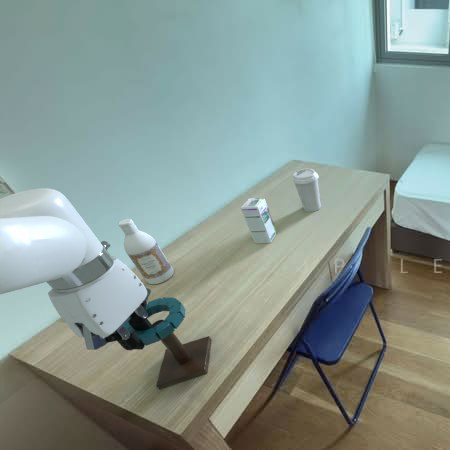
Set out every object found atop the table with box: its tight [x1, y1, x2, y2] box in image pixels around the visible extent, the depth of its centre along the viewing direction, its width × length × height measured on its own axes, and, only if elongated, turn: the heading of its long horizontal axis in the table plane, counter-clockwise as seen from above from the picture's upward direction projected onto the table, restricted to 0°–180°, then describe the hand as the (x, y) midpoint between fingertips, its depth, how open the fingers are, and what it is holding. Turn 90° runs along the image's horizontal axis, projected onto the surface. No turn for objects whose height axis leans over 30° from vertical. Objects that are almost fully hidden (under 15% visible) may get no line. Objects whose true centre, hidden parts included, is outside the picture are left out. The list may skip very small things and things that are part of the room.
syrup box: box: [240, 197, 278, 244], centre depth 102 cm, size 6×6×14 cm
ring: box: [122, 296, 186, 347], centre depth 60 cm, size 10×10×2 cm
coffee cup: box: [291, 168, 322, 213], centre depth 118 cm, size 10×10×15 cm
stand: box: [151, 319, 212, 390], centre depth 65 cm, size 9×9×14 cm
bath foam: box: [117, 218, 175, 285], centre depth 86 cm, size 7×7×20 cm
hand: (141, 340), depth 57 cm, fingers closed on ring, 2 cm apart
